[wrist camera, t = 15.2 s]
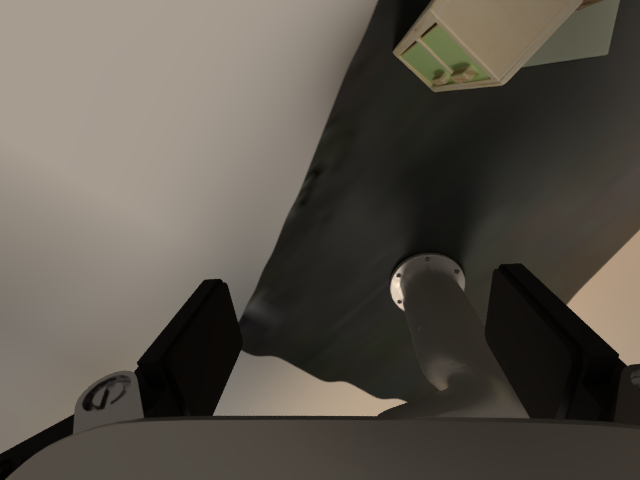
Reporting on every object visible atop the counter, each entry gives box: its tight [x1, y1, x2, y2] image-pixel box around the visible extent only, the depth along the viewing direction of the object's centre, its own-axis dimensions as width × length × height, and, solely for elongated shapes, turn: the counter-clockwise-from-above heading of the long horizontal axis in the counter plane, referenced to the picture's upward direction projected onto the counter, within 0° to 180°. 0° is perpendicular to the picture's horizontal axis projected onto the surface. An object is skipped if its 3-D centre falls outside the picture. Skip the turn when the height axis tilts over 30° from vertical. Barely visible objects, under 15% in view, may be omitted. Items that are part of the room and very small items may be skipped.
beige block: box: [393, 0, 583, 92], centre depth 30 cm, size 8×7×21 cm
